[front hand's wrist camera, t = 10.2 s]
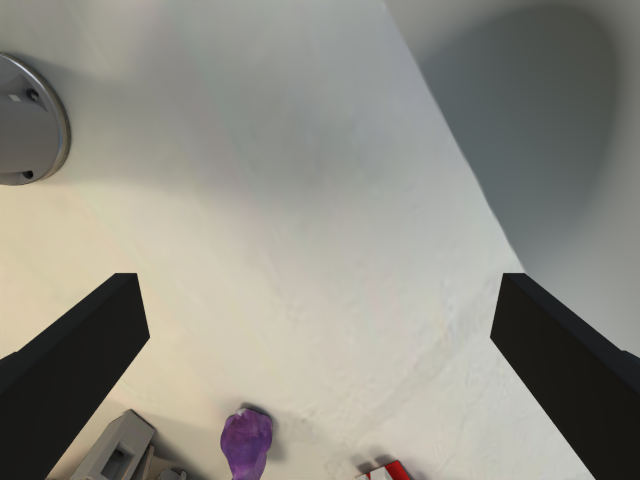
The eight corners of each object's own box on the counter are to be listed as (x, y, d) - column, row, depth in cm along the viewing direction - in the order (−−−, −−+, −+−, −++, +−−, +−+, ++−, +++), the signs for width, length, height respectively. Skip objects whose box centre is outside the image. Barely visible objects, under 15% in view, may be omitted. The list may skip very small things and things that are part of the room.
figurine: (265, 456, 63) (250, 556, 49) (215, 433, 61) (183, 531, 47) (292, 423, 60) (284, 519, 46) (240, 398, 58) (215, 491, 44)
